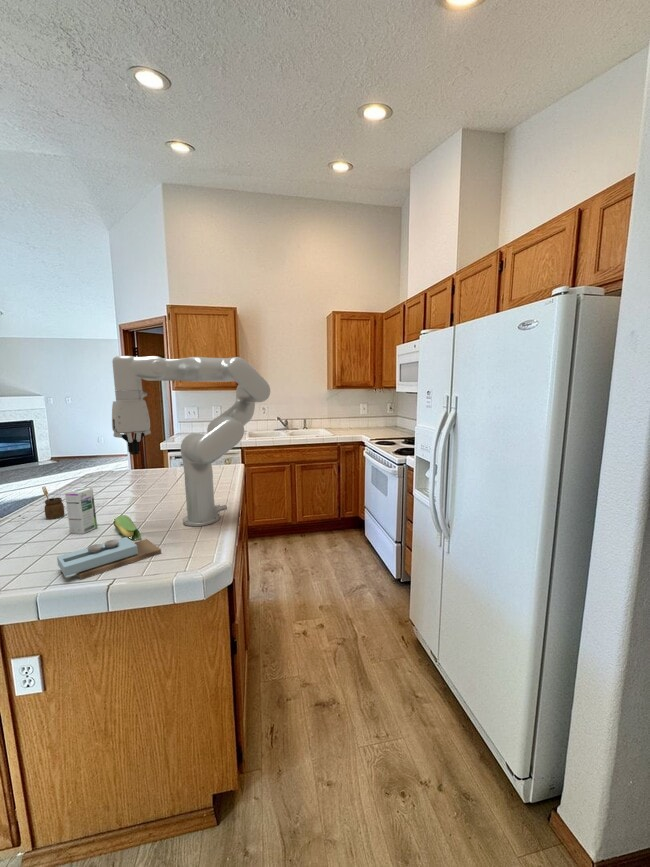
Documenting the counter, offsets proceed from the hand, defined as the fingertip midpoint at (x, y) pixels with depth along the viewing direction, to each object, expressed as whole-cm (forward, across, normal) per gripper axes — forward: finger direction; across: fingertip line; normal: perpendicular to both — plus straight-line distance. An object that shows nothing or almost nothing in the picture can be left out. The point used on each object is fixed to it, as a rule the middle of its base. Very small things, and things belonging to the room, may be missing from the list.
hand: (134, 454), depth 117 cm
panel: (+26, +15, +13) cm, 33 cm away
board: (+27, +11, +13) cm, 32 cm away
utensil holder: (+27, +16, -45) cm, 55 cm away
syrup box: (+27, +12, -20) cm, 36 cm away
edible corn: (+28, +3, -5) cm, 28 cm away
